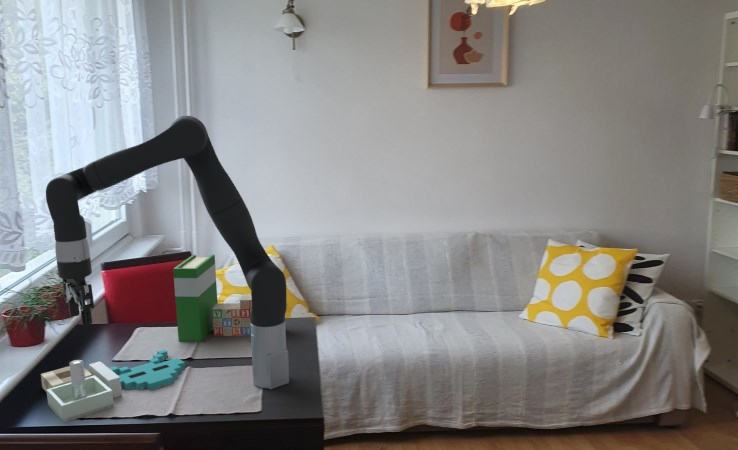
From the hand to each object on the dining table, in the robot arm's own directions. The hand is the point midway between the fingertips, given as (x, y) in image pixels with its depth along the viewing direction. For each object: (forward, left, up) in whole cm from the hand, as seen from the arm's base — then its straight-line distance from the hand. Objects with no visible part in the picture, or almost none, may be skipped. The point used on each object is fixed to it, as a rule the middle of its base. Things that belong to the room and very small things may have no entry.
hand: (81, 320), depth 162 cm
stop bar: (+6, -6, -22) cm, 24 cm away
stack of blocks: (+15, -56, -23) cm, 62 cm away
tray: (0, +2, -22) cm, 22 cm away
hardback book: (+27, -45, -23) cm, 57 cm away
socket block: (+13, +1, -22) cm, 26 cm away
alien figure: (+6, -18, -23) cm, 30 cm away
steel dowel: (0, +2, -21) cm, 22 cm away
